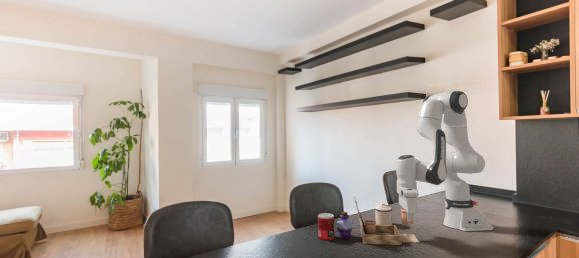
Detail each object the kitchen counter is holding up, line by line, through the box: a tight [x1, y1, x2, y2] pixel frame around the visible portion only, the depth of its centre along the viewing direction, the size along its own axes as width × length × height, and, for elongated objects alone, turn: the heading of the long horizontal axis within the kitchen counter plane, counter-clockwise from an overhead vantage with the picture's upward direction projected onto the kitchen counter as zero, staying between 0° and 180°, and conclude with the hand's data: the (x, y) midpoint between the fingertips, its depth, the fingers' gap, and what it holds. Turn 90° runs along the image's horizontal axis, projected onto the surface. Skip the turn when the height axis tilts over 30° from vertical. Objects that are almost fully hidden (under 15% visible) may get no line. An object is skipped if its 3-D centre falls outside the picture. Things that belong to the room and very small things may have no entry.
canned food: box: [317, 212, 336, 241], centre depth 141 cm, size 8×8×11 cm
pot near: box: [400, 207, 414, 226], centre depth 137 cm, size 6×6×7 cm
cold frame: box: [352, 193, 403, 246], centre depth 139 cm, size 20×15×20 cm
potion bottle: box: [335, 211, 354, 240], centre depth 142 cm, size 9×9×12 cm
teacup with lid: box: [374, 202, 393, 225], centre depth 160 cm, size 12×9×12 cm
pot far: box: [363, 218, 376, 235], centre depth 143 cm, size 6×6×7 cm
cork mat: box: [400, 233, 420, 244], centre depth 137 cm, size 7×10×1 cm
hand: (407, 218), depth 137 cm, fingers closed on pot near, 5 cm apart
